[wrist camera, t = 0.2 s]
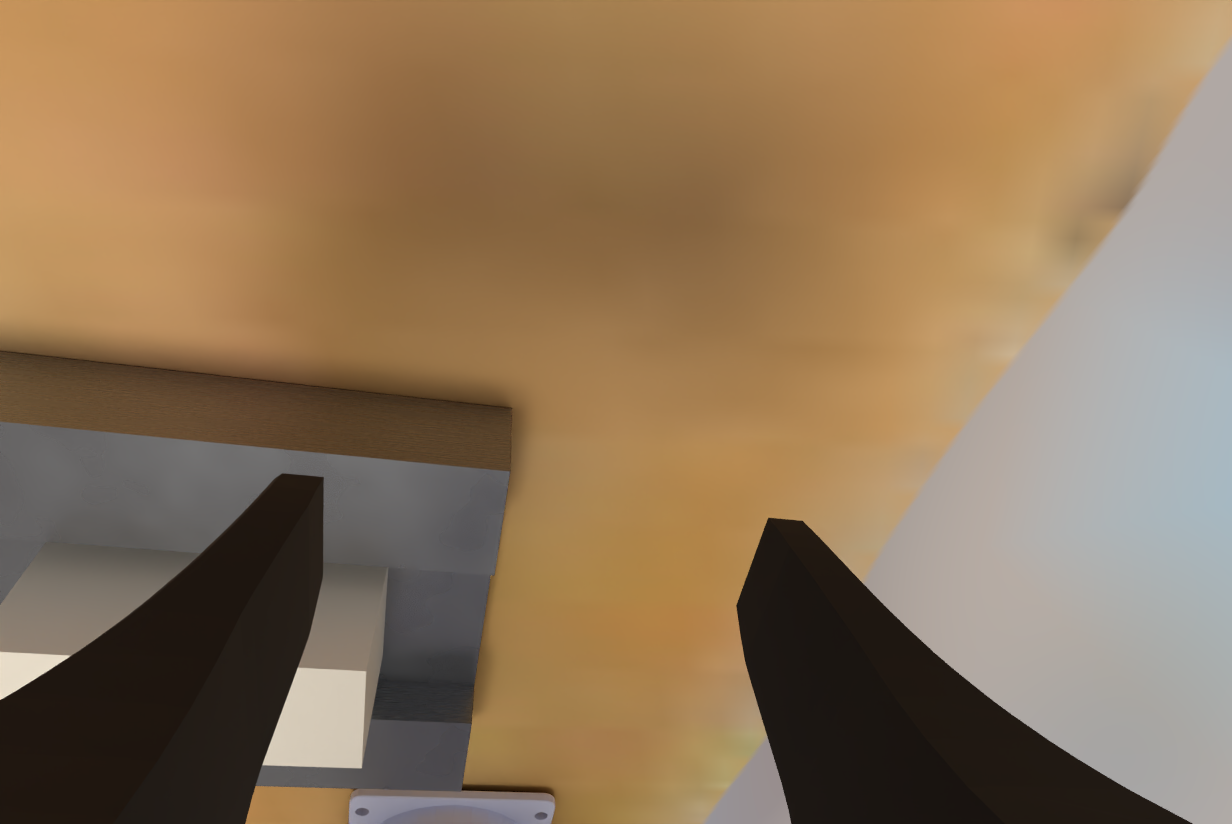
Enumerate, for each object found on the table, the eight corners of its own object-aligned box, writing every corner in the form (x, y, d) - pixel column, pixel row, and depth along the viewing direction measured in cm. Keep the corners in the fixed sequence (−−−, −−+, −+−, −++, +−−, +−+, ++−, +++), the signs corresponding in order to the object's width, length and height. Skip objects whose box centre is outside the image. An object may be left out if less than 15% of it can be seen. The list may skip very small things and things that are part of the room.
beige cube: (215, 645, 25) (167, 761, 22) (72, 637, 25) (0, 757, 21) (206, 547, 23) (152, 659, 20) (50, 535, 22) (-33, 650, 19)
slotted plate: (466, 716, 30) (461, 791, 28) (-83, 692, 27) (-145, 774, 25) (512, 408, 23) (510, 471, 21) (-221, 326, 20) (-328, 389, 18)
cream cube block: (382, 655, 26) (361, 768, 23) (249, 647, 25) (207, 763, 22) (388, 561, 24) (366, 671, 21) (244, 550, 23) (196, 662, 20)
